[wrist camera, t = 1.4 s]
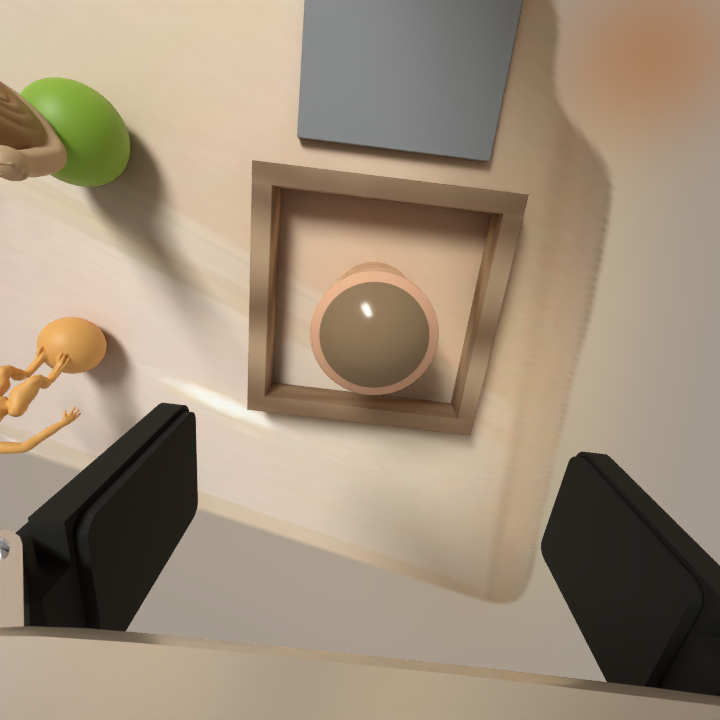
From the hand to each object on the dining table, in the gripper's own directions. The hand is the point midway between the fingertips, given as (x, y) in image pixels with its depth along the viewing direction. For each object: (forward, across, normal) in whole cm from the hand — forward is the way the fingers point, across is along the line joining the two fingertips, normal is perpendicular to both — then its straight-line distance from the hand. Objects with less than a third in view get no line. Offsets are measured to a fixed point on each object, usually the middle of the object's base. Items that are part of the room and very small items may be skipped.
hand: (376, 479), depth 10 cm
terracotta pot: (+20, 0, 0) cm, 20 cm away
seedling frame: (+20, 0, 0) cm, 20 cm away
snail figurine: (+20, +18, -8) cm, 28 cm away
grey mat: (+20, 0, -16) cm, 26 cm away
